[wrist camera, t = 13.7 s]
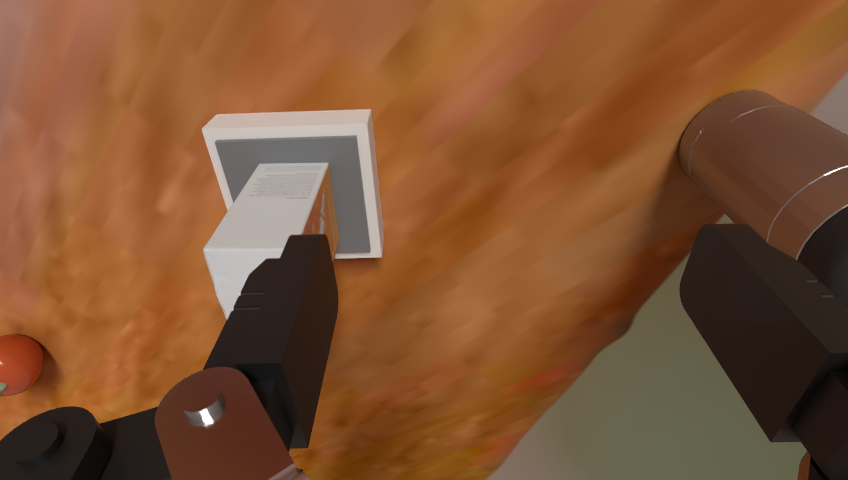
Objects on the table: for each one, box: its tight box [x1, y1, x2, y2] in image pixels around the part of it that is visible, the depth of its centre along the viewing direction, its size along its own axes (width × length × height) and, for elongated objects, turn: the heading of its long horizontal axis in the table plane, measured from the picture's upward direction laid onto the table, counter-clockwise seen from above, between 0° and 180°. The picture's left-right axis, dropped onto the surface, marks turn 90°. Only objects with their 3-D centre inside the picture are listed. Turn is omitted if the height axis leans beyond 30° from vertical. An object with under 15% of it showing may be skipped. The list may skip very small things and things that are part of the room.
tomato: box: [0, 334, 44, 397], centre depth 57 cm, size 7×7×8 cm
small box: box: [203, 163, 340, 320], centre depth 38 cm, size 8×6×13 cm
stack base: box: [202, 109, 384, 259], centre depth 45 cm, size 14×14×4 cm
